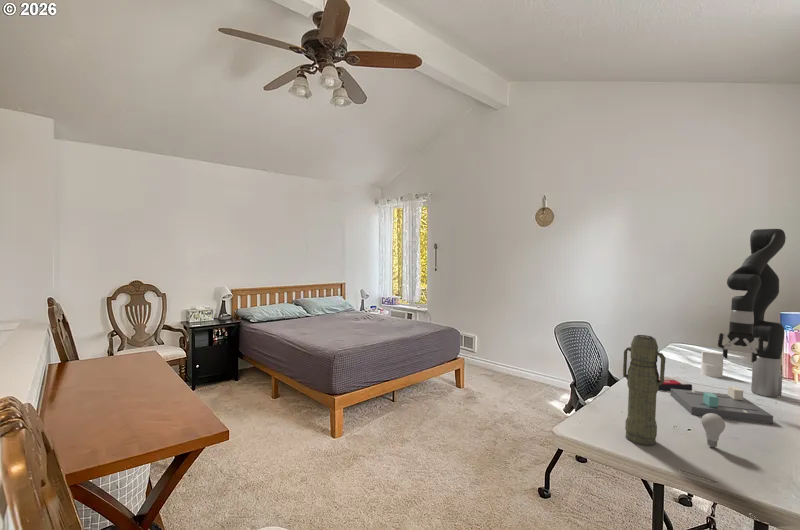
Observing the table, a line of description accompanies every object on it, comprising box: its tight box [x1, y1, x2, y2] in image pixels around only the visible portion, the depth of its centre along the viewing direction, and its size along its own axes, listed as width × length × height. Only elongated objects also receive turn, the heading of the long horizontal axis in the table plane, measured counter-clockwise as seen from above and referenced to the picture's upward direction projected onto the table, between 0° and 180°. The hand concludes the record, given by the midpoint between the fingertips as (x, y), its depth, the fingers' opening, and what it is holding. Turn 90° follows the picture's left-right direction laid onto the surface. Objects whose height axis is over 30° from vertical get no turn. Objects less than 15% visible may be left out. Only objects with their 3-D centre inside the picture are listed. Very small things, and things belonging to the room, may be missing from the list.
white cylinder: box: [700, 350, 724, 378], centre depth 206 cm, size 9×9×12 cm
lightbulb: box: [700, 413, 726, 449], centre depth 127 cm, size 6×6×11 cm
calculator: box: [658, 376, 693, 392], centre depth 185 cm, size 11×4×15 cm
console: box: [669, 389, 774, 424], centre depth 160 cm, size 26×22×3 cm
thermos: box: [622, 334, 666, 447], centre depth 130 cm, size 9×12×35 cm
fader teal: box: [703, 391, 719, 408], centre depth 155 cm, size 3×5×4 cm, turn 163°
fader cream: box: [727, 385, 744, 400], centre depth 163 cm, size 3×5×4 cm, turn 163°
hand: (739, 360), depth 163 cm, fingers open, 8 cm apart
